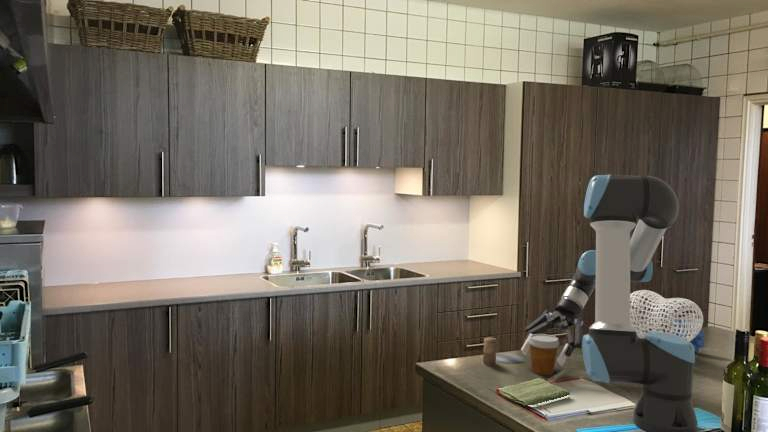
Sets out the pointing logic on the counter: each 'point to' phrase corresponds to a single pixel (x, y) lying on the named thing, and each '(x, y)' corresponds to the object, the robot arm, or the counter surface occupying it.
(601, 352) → the robot arm
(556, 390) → the washcloth
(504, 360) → the board
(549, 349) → the disposable coffee cup
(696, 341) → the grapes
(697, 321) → the heart
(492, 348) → the walnut peg
